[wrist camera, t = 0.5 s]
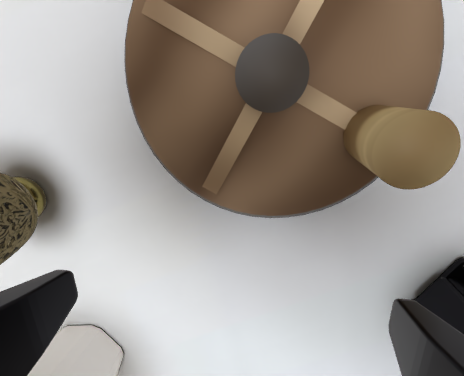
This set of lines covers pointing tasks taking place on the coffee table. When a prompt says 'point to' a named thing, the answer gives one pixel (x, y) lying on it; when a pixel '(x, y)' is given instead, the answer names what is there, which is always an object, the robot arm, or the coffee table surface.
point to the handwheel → (290, 97)
